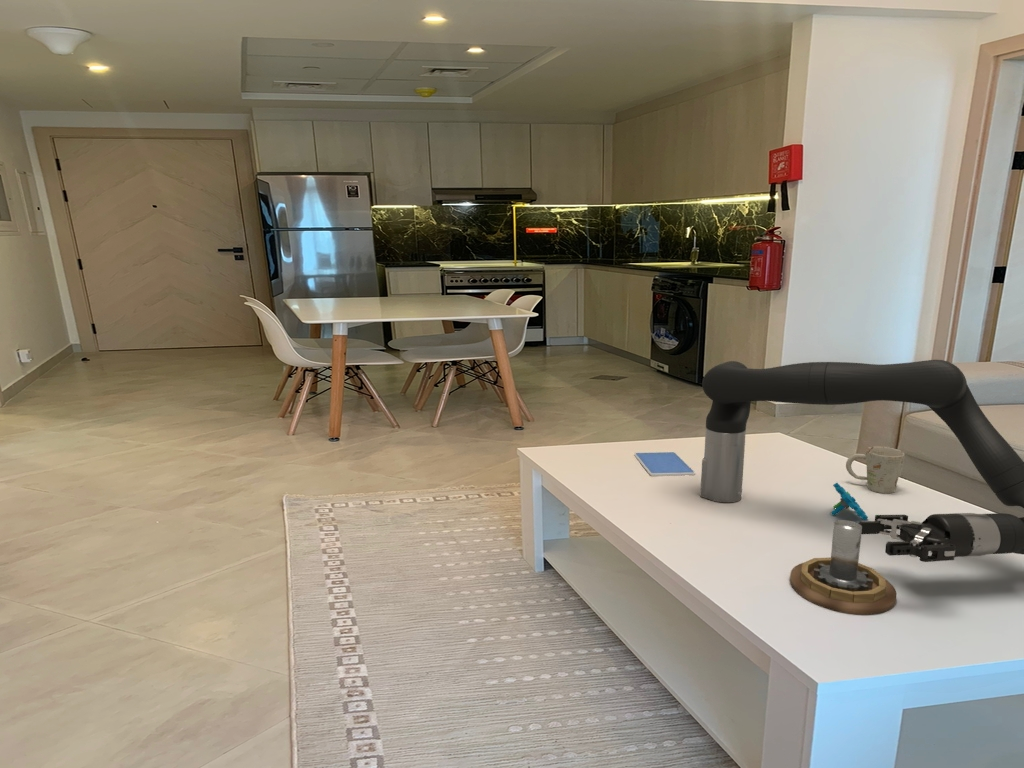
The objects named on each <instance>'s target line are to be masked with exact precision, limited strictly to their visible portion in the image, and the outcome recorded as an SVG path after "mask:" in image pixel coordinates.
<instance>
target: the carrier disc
mask: <svg viewBox="0 0 1024 768" xmlns="http://www.w3.org/2000/svg"><path fill="white" fill-rule="evenodd" d="M830 560H831V557H814V558H812V559H809V560H806V561H804V562H802V563H798V564H797V565H795V566H794V567H793V568H792V569H791V571H790V577H789V582H790V583H789V584H790V586H791V587H792V589H793V590H794V591H795V592H796V593H797V594H798V595H799V596H801V597H802V598H803V599H805V600H807V601H808V602H811V603H812V604H815V605H817V606H819V607H822V608H825V609H828V610H831V611H834V612H840V613H844V614H852V615H862V616H866V615H868V616H869V615H879V614H882V613H883V614H884V613H886V612H888V611H890V610H892V609H893V608H894V607H895V605H896V604H897V603H896V602H897V591H896V588H895V586H894V585H893V584H892V583H891V582H890V581H889V580H887V579H886V578H885V577H884V576H883V575H882V574H880V573H879V572H877V570H876V569H874V568H872V567H869V566H866V565H864V564H862V563H859V562H858V571H860V572H864V571H865V572H867V573H868V579H873V585H872V589H869V591H855V592H852V591H847V590H842V589H837V588H832V587H830V586H827V585H825V584H823V583H821V582H818V581H817V579H816V578H813V576H814V568H815V569H818V566H819V564H824V565H830Z"/></svg>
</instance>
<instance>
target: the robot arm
mask: <svg viewBox="0 0 1024 768" xmlns="http://www.w3.org/2000/svg"><path fill="white" fill-rule="evenodd" d="M701 388H702V390H703V393H704V394H705V395H706V397H708V398H709V399H710V400H712V403H711V407H710V409H709V411H708V414H707V416H706V417H705V418H706V419H705V437H704V454H703V455H704V456H703V458H702V460H701V475H700V477H701V478H700V492H699V493H700V497H701V498H705V499H707V500H710V501H713V502H718V503H736V502H739V501H740V500H742V493H743V480H744V479H743V478H744V465H745V446H746V432H747V423H748V420H749V417H750V413H751V403H752V402H775V403H786V404H799V405H800V404H802V405H817V406H818V405H822V406H823V405H824V406H827V405H832V406H833V405H834V406H836V405H850V404H860V403H861V404H862V403H868V402H877V401H886V402H889V401H890V402H900V403H902V402H903V403H909V404H910V403H911V404H919V405H925V406H927V407H928V408H930V409H931V410H932V411H933V412H934V413H935V414H936V415H937V416H938V417H939V418H940V419H941V420H942V421H943V422H944V423H945V424H946V426H948V428H949V429H950V430H951V432H952V433H953V435H955V437H956V439H958V441H959V442H960V444H961V446H962V447H963V449H964V451H965V452H966V454H967V456H968V458H969V460H971V462H972V464H973V466H974V467H975V469H976V470H977V471H978V473H979V475H980V476H981V478H982V479H983V480H984V482H985V483H986V485H987V486H988V487H989V488H990V489H991V491H992V492H993V494H994V496H996V498H997V499H998V500H999V501H1000V502H1001V503H1002V504H1003V505H1004V506H1007V507H1021V508H1023V509H1024V461H1023V459H1022V458H1021V457H1020V455H1019V454H1018V453H1017V451H1016V450H1015V449H1014V448H1013V446H1011V445H1010V443H1008V442H1007V440H1006V439H1005V438H1004V437H1003V436H1002V435H1001V434H1000V433H999V431H998V430H997V429H996V427H995V426H993V424H992V423H991V422H990V419H988V417H987V416H986V415H985V413H984V412H983V410H982V408H980V405H979V404H978V402H977V401H976V399H975V397H974V395H973V393H972V392H971V390H970V388H969V386H968V383H967V379H966V376H965V374H964V373H963V371H962V370H961V369H960V368H959V367H958V366H957V365H955V364H954V363H953V362H950V361H948V360H944V359H928V360H920V361H911V362H901V363H889V364H886V363H885V364H874V363H872V364H871V363H862V362H861V363H860V362H845V361H844V362H843V361H842V362H841V361H838V362H837V361H813V362H811V361H809V362H801V363H800V362H797V363H791V364H784V365H780V366H773V367H768V368H767V367H766V368H748V367H747V366H746V365H745V364H744V363H742V362H739V361H736V360H735V361H734V360H731V361H725V362H723V363H720V364H718V365H715V366H713V367H711V368H710V369H709V370H708V371H707V372H706V373H705V375H704V376H703V379H702V383H701ZM857 523H858V524H860V525H861V526H862V533H861V535H879V534H880V535H885V536H889V537H890V538H891V539H892V540H896V541H887V542H886V543H885V549H884V550H885V554H886V555H888V556H892V557H893V556H909V557H912V558H917V557H918V558H919V561H920V562H923V563H931V562H932V563H933V562H944V561H945V562H946V561H954V560H955V558H959V557H960V558H961V557H980V556H985V555H1001V554H1002V555H1005V554H1016V555H1017V554H1018V555H1024V516H1023V517H1018V516H1016V515H1014V514H1010V513H1003V512H1002V513H999V512H998V513H997V512H996V513H993V512H992V513H975V512H960V513H959V512H958V513H957V512H956V513H934V514H930V515H929V516H927V517H926V518H925V519H924V520H923V521H922V522H920V521H915V520H911V521H909V515H907V514H875V516H874V520H872V521H871V520H869V521H866V520H865V521H864V520H863V521H858V522H857ZM897 530H899V534H898V533H897ZM929 553H931V555H929Z"/></svg>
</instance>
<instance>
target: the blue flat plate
mask: <svg viewBox="0 0 1024 768" xmlns="http://www.w3.org/2000/svg"><path fill="white" fill-rule="evenodd" d="M633 456H634V458H636V460H637V461H638V462H639V463H640V464H641V466H642V467H643V468H644V470H645V471H646V472H647V473H648V475H649V476H651V477H681V476H683V477H684V476H685V475H689V476H694V475H696V472H695V471H694V470H693V469H692V467H690V466H689V465H688V464H687V463H686V462H685V461H684V460H683V458H681V457H680V456H679V455H678V454H677V453H676V452H674V451H673V452H672V451H671V452H668V451H667V452H663V451H662V452H635V453H634V454H633Z"/></svg>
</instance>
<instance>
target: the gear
mask: <svg viewBox="0 0 1024 768" xmlns="http://www.w3.org/2000/svg"><path fill="white" fill-rule="evenodd" d="M832 486H833V487H834V488H835V491H836V492H837V494H839V495H840V497H841V498H840V499H839V500H840V501H839V502H837V503H836V504H834V505H833V506H832V508H833V510H831V512H830V514H831V515H832V516H833V515H834V516H836V515H837V514H839V513H840V512H842V511H843V510H844V509H845V510H847V509H849V508H850V509H851V510H854V511H855V514H856V515H857V516H858V517H859V518H861V519H862V520H863V522H864V521H866V520H868V519H869V516H868V515H867V514H866V512H865V511H864V510H863V509H862V507H861V506H860V505H859V503H858V502H856V501H857V500H856V498H855V497H854V496H851V494H850V493H849V491H846V489H845V488H844V487H843V486H841V485H840V484H839V483H838V482H835V483H834V484H833V485H832ZM835 508H836V509H835Z"/></svg>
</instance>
